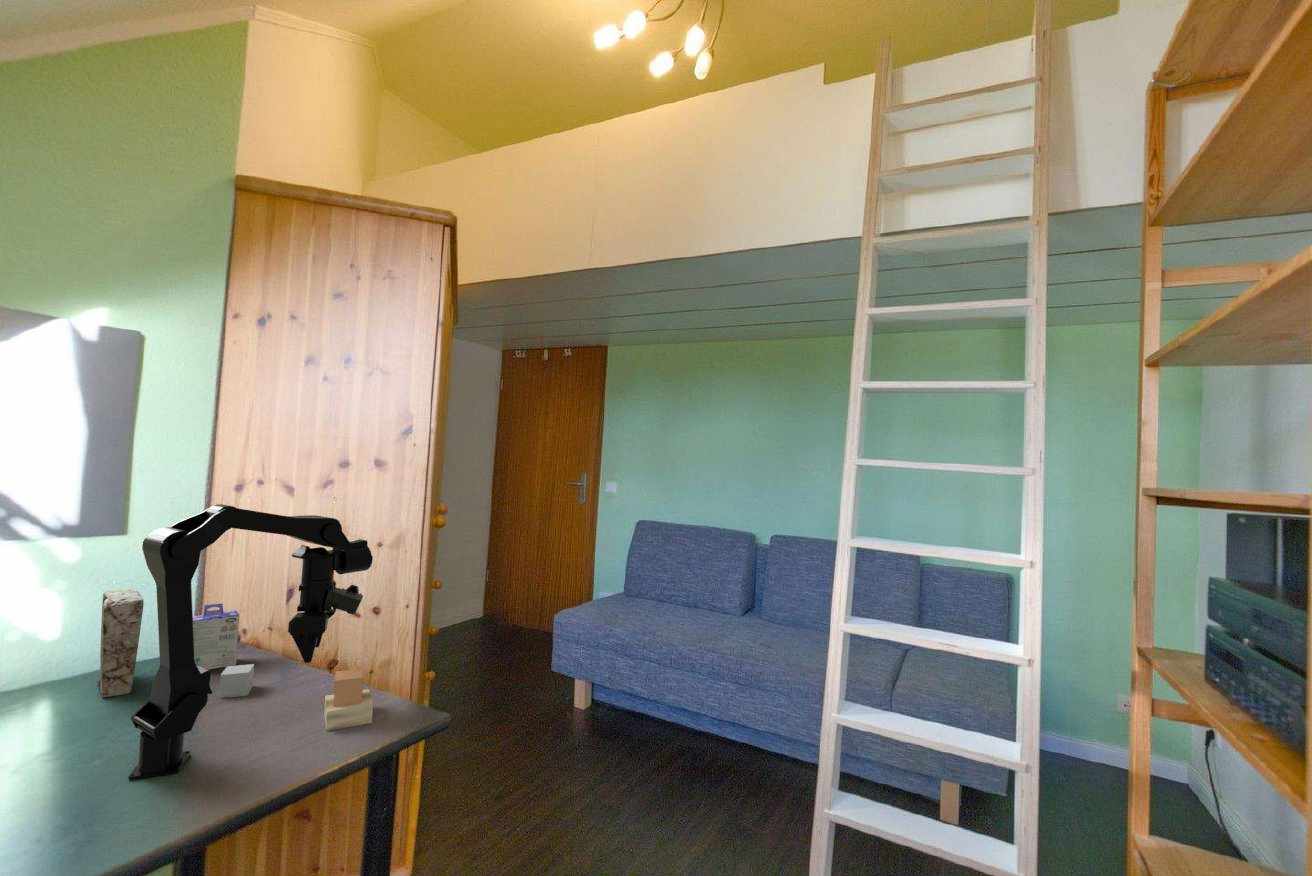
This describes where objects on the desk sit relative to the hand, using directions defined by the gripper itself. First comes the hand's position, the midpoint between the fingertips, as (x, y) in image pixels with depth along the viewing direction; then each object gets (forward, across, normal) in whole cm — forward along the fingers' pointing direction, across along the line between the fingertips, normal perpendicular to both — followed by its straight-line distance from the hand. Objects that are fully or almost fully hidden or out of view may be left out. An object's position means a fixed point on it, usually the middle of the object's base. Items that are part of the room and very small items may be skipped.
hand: (312, 654), depth 118 cm
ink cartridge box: (+12, +32, +25) cm, 43 cm away
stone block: (+12, +24, +40) cm, 48 cm away
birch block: (+12, -4, -8) cm, 15 cm away
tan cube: (+8, -4, -8) cm, 12 cm away
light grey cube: (+12, +15, +16) cm, 25 cm away
